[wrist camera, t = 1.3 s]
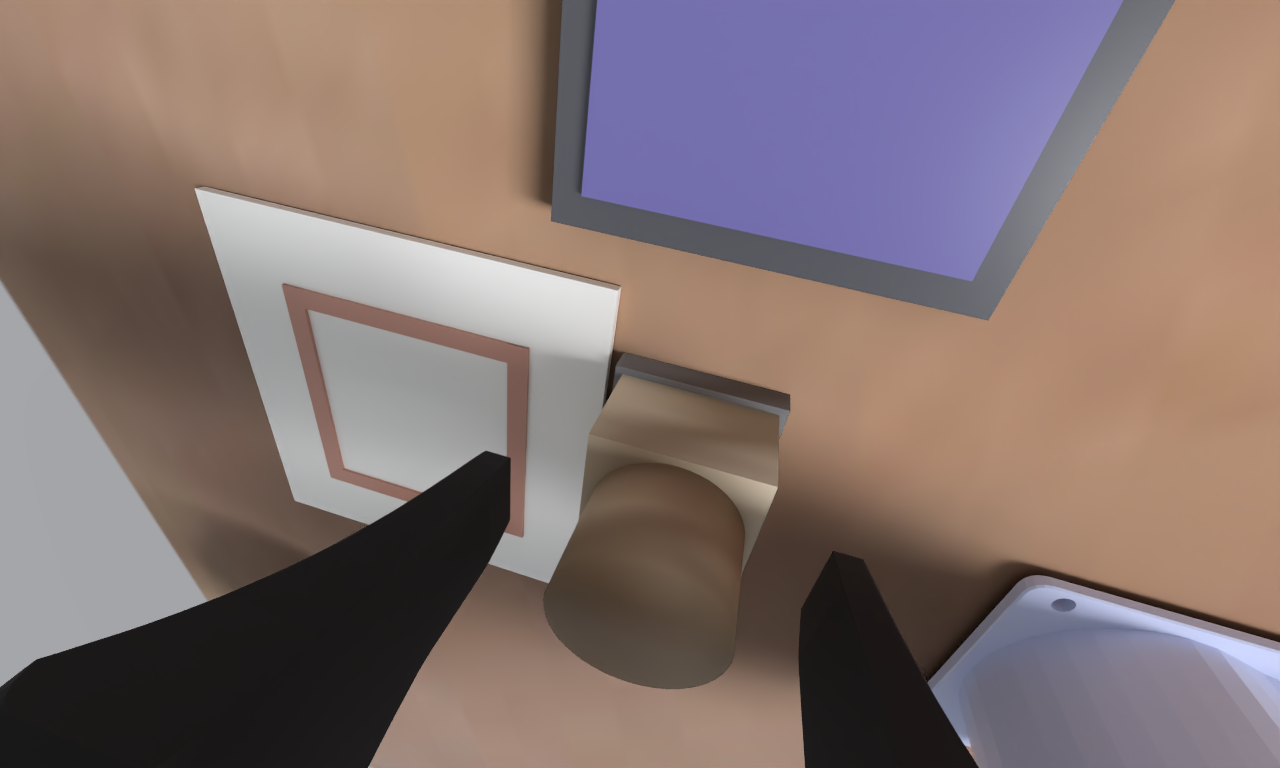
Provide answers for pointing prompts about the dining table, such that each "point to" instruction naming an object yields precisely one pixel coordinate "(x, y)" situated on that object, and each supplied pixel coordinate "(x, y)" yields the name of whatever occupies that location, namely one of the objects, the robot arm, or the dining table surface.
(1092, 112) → the ink pad
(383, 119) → the dining table surface
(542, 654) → the dining table surface
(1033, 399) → the dining table surface
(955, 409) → the dining table surface
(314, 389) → the card sheet
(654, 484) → the stamp
